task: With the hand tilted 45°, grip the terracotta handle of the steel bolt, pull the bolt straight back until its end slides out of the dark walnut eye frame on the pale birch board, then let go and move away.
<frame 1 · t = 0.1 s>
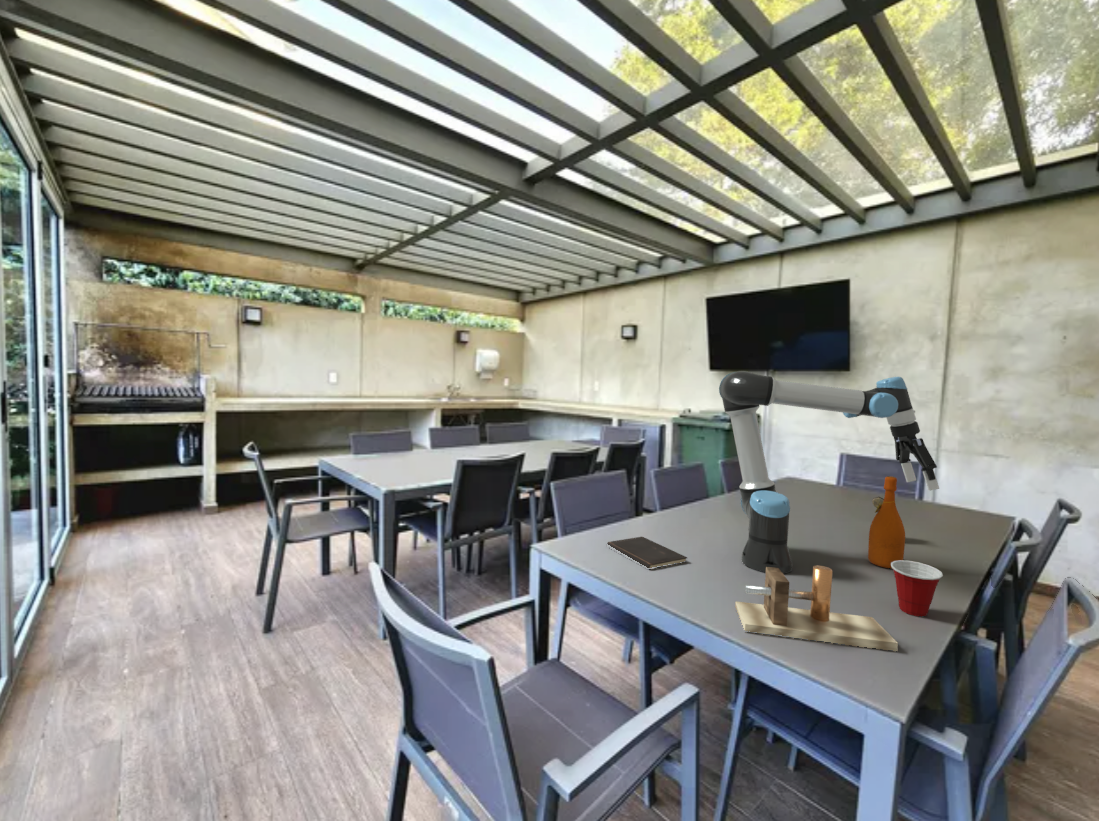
hand: (922, 485, 154), 28 cm above the table, tool tilted 20°, fingers open, 13 cm apart
plastic cup: (912, 612, 124), on the table
hook bolt: (787, 589, 114), point 9 cm above the table, slide at 0.0 cm
eye frame: (809, 628, 113), on the table
wine bottle: (884, 565, 158), on the table
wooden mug: (882, 540, 185), on the table
hardcover book: (645, 556, 160), on the table
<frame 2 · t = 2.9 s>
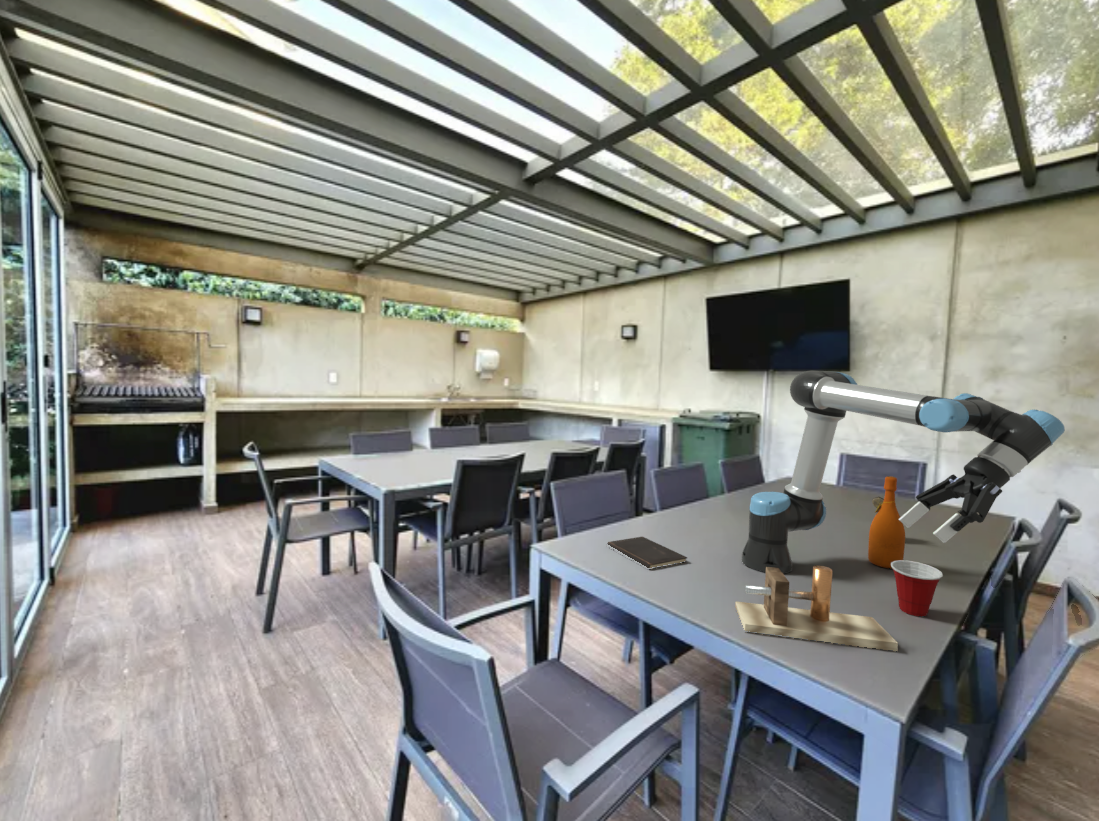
hand: (919, 530, 109), 26 cm above the table, tool tilted 40°, fingers open, 13 cm apart
nothing on the table moved.
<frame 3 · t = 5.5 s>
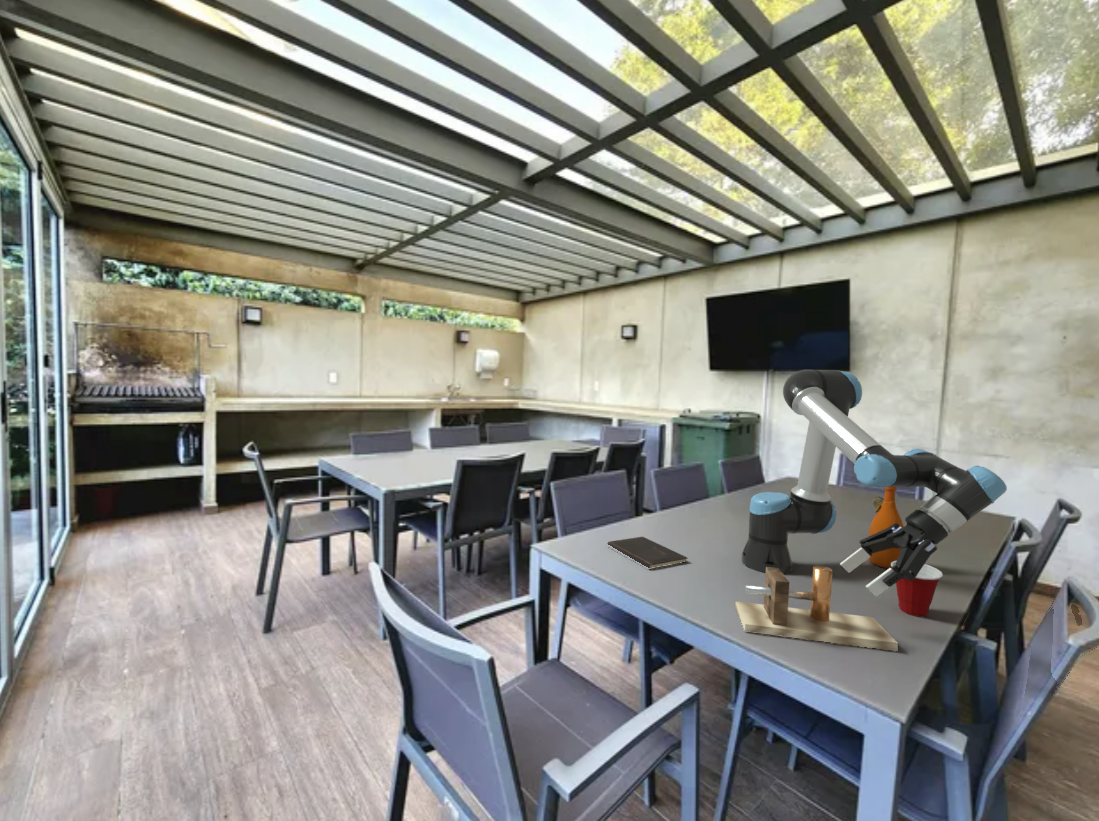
hand: (856, 579, 110), 14 cm above the table, tool tilted 45°, fingers open, 13 cm apart
nothing on the table moved.
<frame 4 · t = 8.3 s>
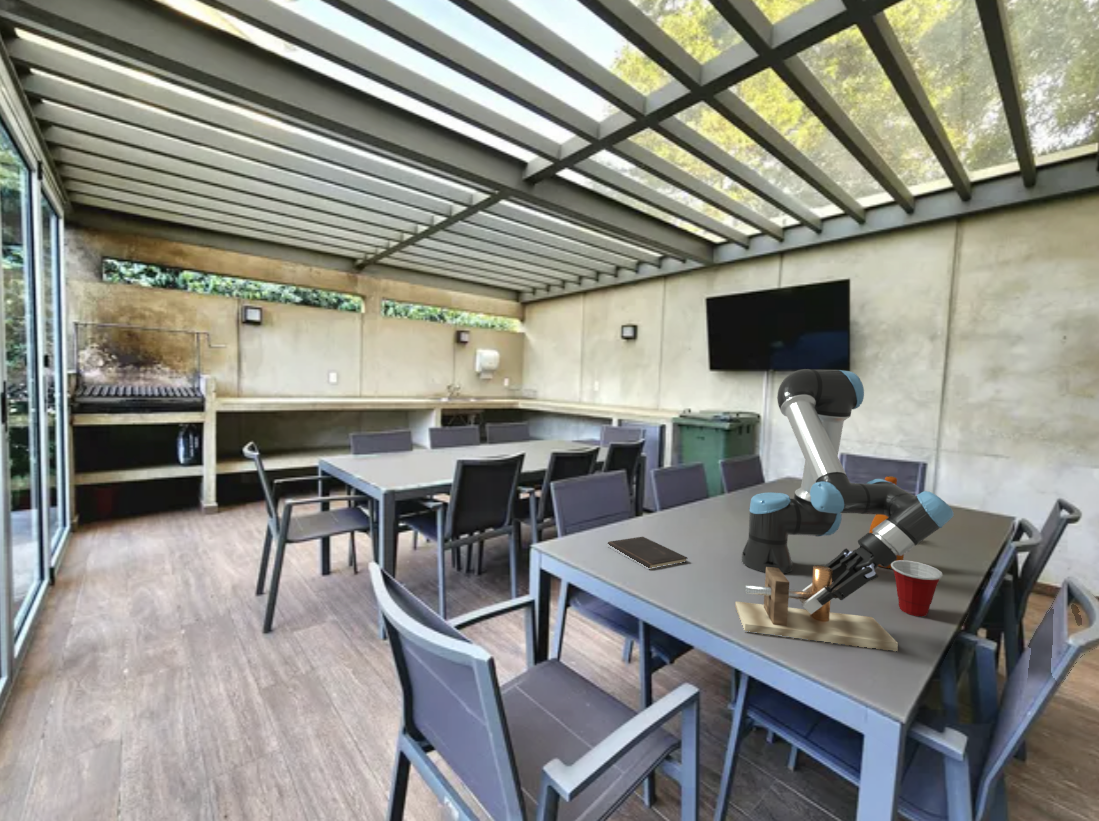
hand: (803, 604, 113), 6 cm above the table, tool tilted 45°, fingers closed on hook bolt, 4 cm apart
hook bolt: (787, 589, 114), point 9 cm above the table, slide at 0.0 cm, touching gripper
everything else where it was.
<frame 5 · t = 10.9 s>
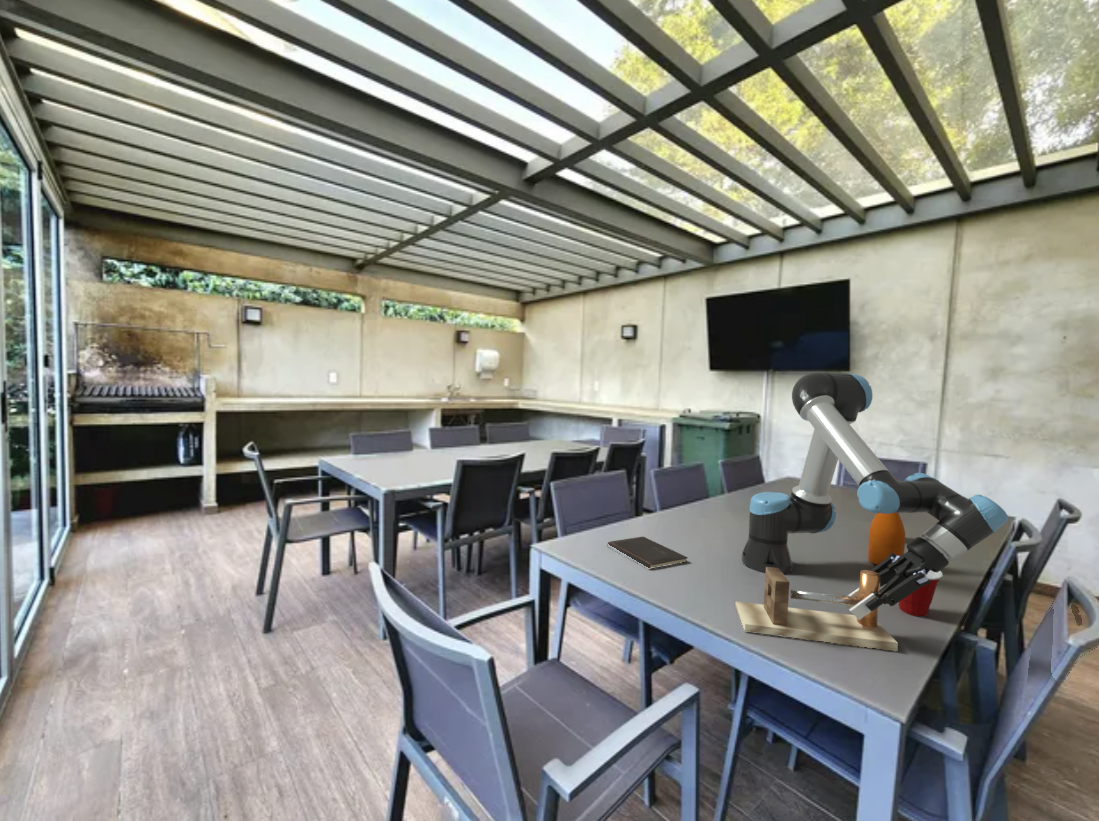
hand: (849, 610, 111), 6 cm above the table, tool tilted 45°, fingers closed on hook bolt, 4 cm apart
hook bolt: (833, 594, 112), point 9 cm above the table, slide at 10.3 cm, touching gripper
everything else where it was.
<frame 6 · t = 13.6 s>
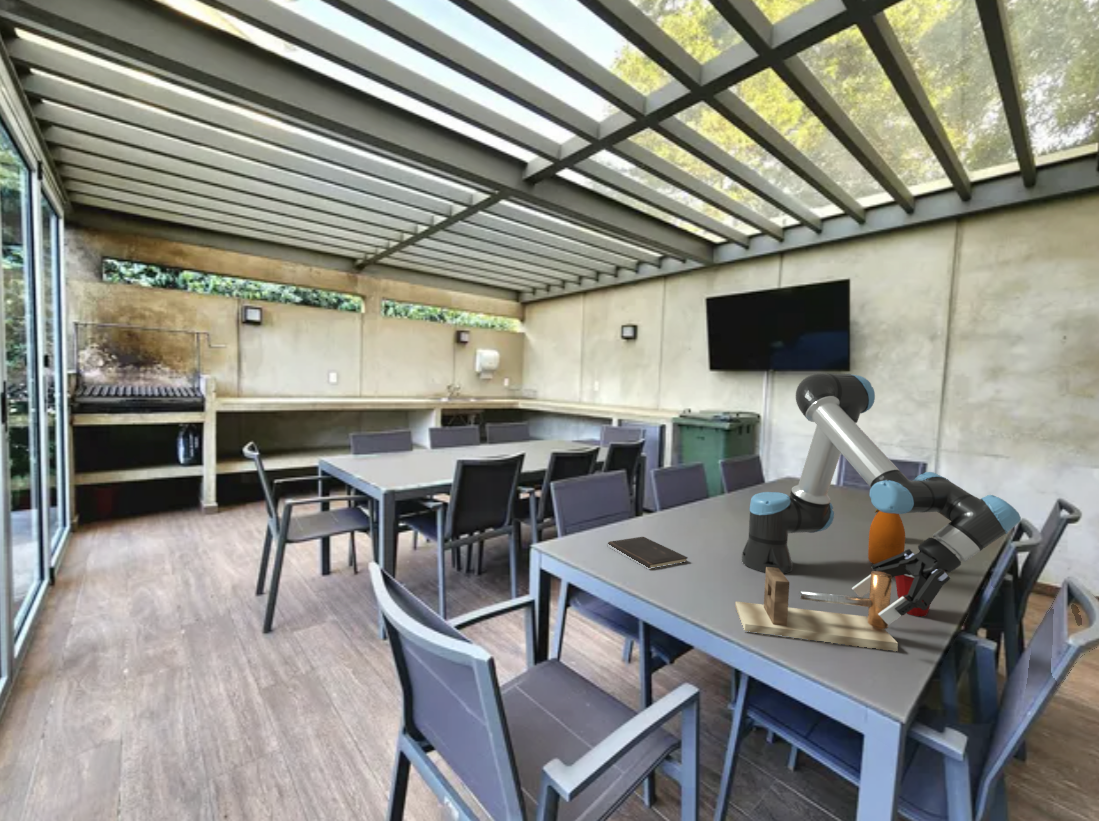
hand: (868, 605, 111), 7 cm above the table, tool tilted 45°, fingers open, 13 cm apart
hook bolt: (844, 595, 111), point 9 cm above the table, slide at 12.5 cm
everything else where it was.
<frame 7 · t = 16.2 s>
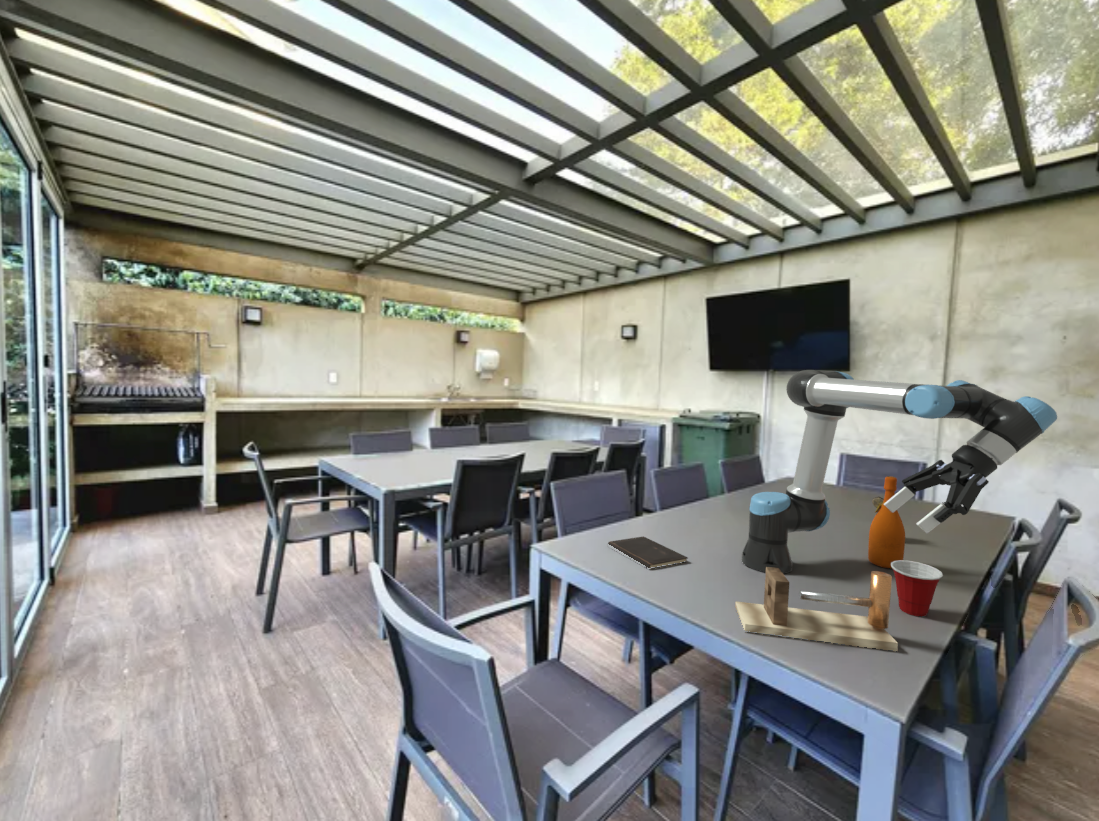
hand: (903, 518, 110), 28 cm above the table, tool tilted 40°, fingers open, 13 cm apart
nothing on the table moved.
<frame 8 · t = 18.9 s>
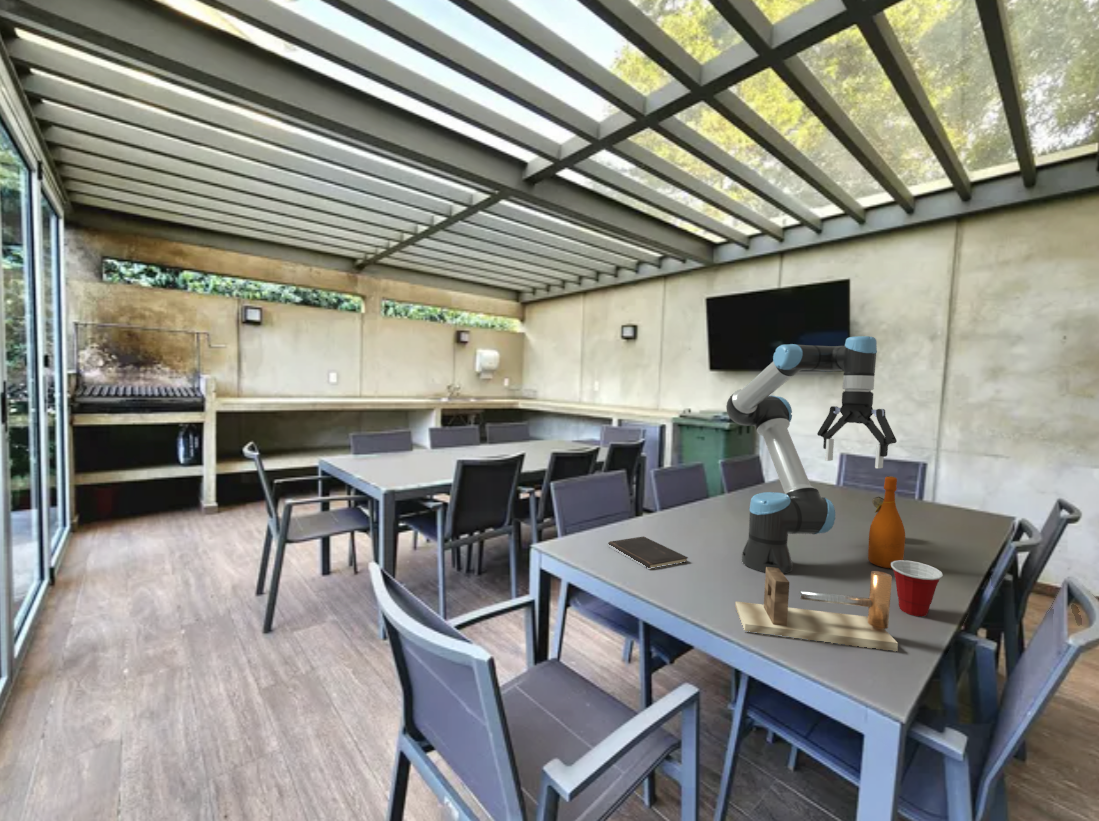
hand: (852, 464, 136), 37 cm above the table, tool pointing down, fingers open, 13 cm apart
nothing on the table moved.
at the end: hook bolt slide at 12.5 cm; the gripper is holding nothing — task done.
